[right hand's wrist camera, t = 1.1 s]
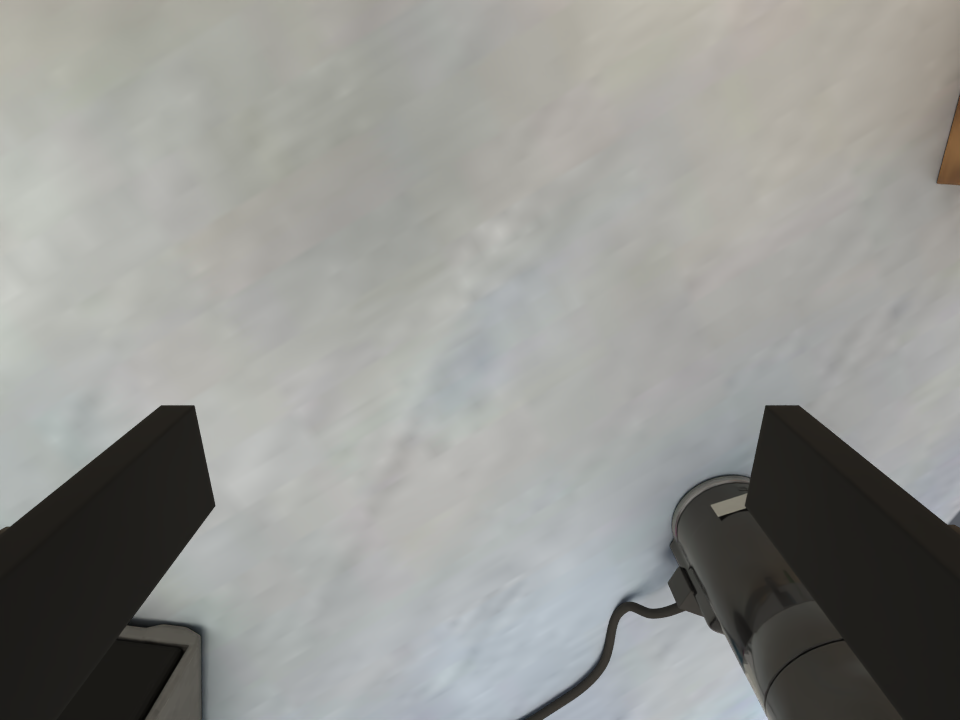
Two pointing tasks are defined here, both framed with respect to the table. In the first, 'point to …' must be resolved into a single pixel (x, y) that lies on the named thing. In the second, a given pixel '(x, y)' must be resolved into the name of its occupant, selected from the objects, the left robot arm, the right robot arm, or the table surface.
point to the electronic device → (143, 678)
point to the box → (952, 154)
